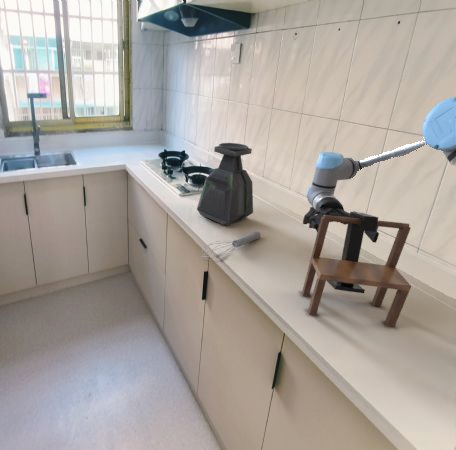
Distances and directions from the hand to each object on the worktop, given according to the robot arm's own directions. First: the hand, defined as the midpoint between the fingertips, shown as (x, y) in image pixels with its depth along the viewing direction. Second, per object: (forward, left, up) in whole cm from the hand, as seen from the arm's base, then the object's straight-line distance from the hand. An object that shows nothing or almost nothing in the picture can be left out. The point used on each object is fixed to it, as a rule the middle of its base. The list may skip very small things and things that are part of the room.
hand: (348, 235), depth 91 cm
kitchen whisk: (+31, -7, -17) cm, 36 cm away
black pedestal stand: (-2, +8, -12) cm, 15 cm away
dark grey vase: (+41, -34, -16) cm, 56 cm away
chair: (-3, +10, -16) cm, 20 cm away
